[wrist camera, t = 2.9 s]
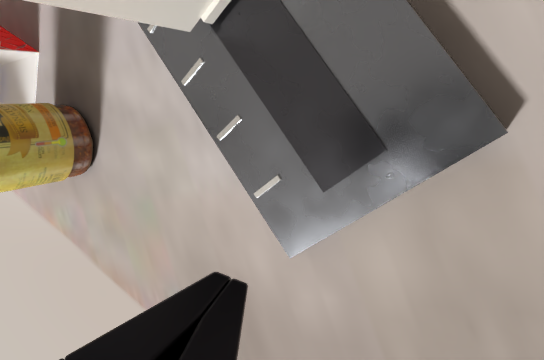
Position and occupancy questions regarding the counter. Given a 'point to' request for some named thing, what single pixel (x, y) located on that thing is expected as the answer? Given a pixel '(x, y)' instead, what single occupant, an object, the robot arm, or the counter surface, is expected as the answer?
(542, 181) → the counter surface
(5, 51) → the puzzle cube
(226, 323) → the robot arm
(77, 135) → the sauce bottle
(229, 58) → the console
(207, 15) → the fader tab
